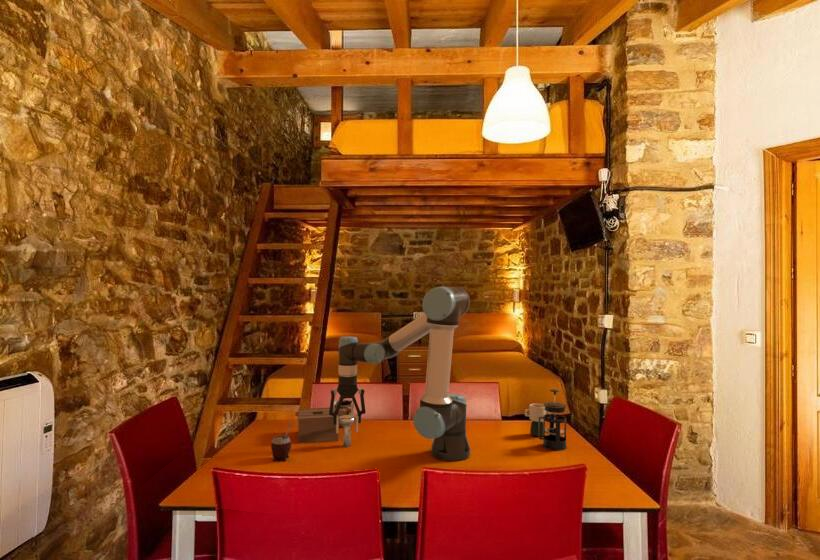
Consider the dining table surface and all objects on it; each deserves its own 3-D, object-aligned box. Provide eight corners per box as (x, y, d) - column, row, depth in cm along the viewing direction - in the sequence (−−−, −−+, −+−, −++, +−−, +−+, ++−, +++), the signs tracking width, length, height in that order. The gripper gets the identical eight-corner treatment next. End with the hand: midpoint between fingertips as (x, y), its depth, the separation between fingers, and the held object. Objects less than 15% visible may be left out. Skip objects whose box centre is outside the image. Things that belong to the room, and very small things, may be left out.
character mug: (549, 433, 213) (549, 404, 213) (551, 438, 206) (551, 408, 206) (524, 432, 215) (524, 402, 215) (525, 436, 208) (525, 406, 208)
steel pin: (355, 447, 192) (356, 418, 192) (339, 448, 190) (340, 419, 190) (353, 442, 198) (354, 414, 198) (338, 443, 197) (338, 415, 197)
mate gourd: (267, 459, 178) (268, 418, 179) (286, 453, 184) (287, 414, 184) (277, 464, 173) (278, 422, 173) (296, 459, 179) (297, 418, 179)
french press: (564, 442, 200) (564, 387, 201) (571, 450, 191) (571, 392, 191) (536, 442, 201) (536, 387, 201) (541, 450, 191) (542, 392, 192)
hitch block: (337, 440, 200) (338, 416, 200) (298, 443, 196) (298, 418, 197) (334, 429, 216) (335, 407, 216) (298, 431, 212) (298, 409, 212)
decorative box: (322, 427, 219) (322, 406, 219) (331, 416, 239) (332, 396, 239) (350, 428, 218) (351, 407, 218) (358, 416, 238) (358, 397, 238)
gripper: (370, 372, 201) (370, 427, 200) (322, 374, 196) (321, 430, 196) (373, 375, 193) (373, 433, 193) (323, 377, 189) (322, 436, 188)
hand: (347, 431), depth 194 cm, fingers open, 7 cm apart
